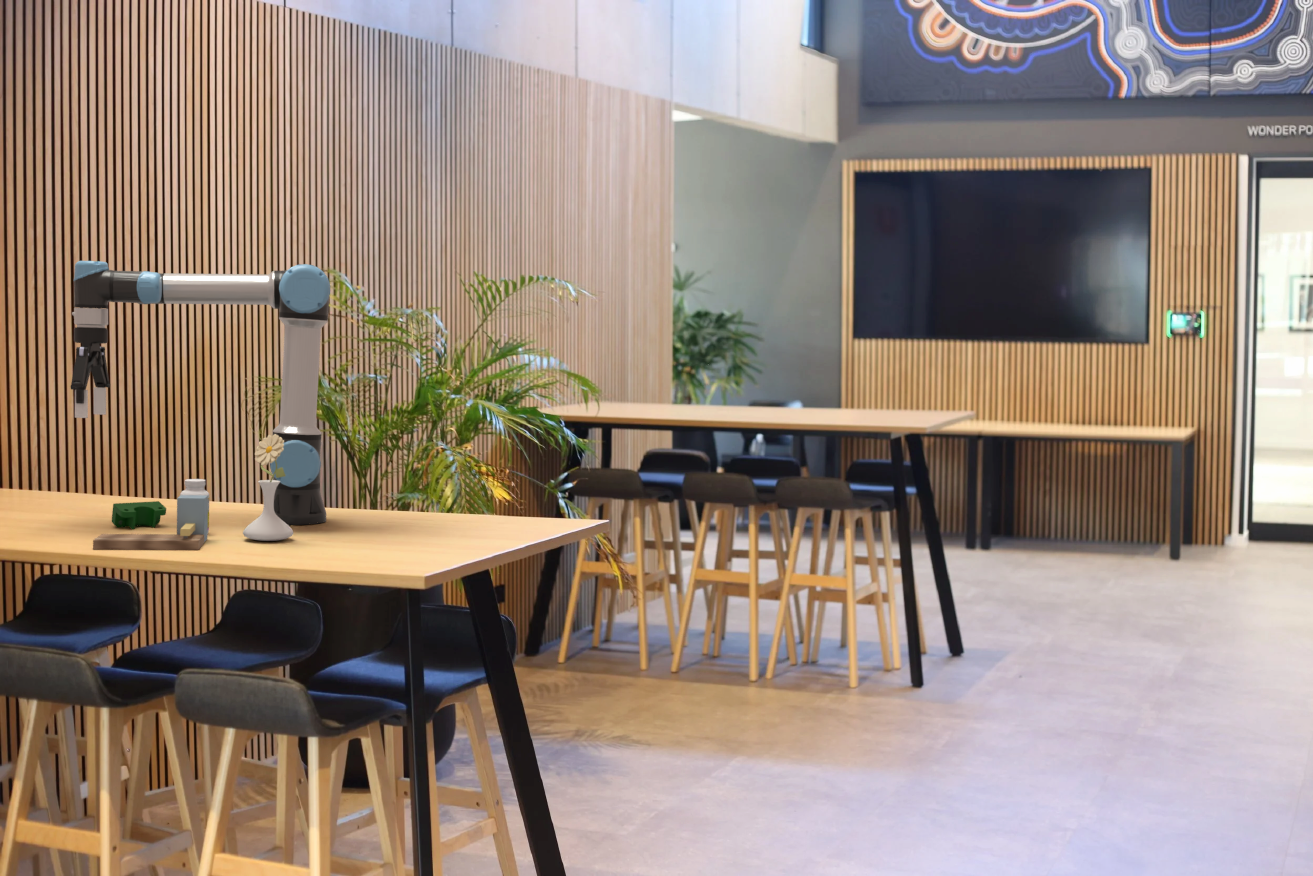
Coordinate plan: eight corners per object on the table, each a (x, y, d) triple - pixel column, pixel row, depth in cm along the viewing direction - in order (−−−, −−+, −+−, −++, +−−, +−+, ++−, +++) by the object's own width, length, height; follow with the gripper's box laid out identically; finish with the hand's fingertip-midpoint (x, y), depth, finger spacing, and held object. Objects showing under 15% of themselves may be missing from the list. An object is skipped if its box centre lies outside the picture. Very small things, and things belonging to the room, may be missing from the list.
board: (204, 543, 327) (204, 534, 327) (198, 550, 318) (198, 540, 317) (101, 542, 323) (101, 533, 323) (93, 549, 313) (93, 539, 313)
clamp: (126, 547, 346) (115, 515, 342) (117, 538, 351) (106, 506, 346) (173, 525, 352) (163, 494, 348) (164, 517, 357) (153, 486, 352)
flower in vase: (235, 538, 337) (236, 431, 335) (281, 535, 344) (283, 430, 342) (256, 546, 326) (258, 435, 325) (304, 543, 333) (306, 434, 331)
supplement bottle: (178, 536, 337) (179, 481, 336) (179, 532, 344) (180, 478, 343) (208, 536, 339) (209, 481, 338) (209, 532, 345) (210, 478, 344)
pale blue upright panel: (207, 538, 334) (207, 495, 333) (199, 548, 318) (199, 503, 318) (180, 538, 332) (180, 495, 332) (170, 548, 317) (171, 503, 316)
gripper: (91, 326, 354) (91, 412, 356) (56, 325, 329) (56, 418, 331) (123, 327, 355) (122, 413, 356) (90, 326, 330) (89, 419, 331)
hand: (90, 416), depth 344 cm, fingers open, 13 cm apart
